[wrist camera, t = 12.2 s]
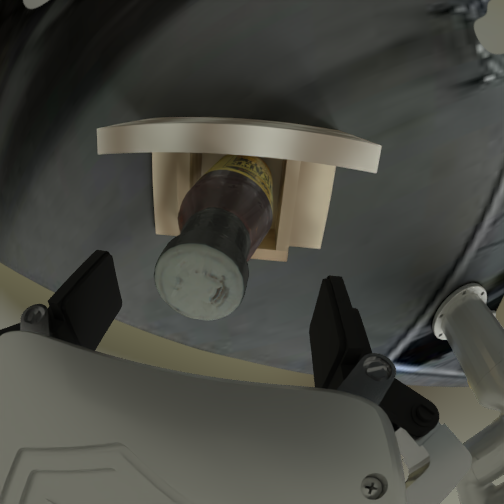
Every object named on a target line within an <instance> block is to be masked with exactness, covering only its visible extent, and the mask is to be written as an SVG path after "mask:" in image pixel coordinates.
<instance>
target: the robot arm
mask: <svg viewBox="0 0 504 504" xmlns="http://www.w3.org/2000/svg"><path fill="white" fill-rule="evenodd" d="M486 301H487V294H486V291H485V289H484V288H483V287H482V286H481V285H480V284H477V283H471V284H467V285H464V286H462V287H460V288H458V289H457V290H456V291H454V292H453V293H452V294H451V295H449V296H448V297H447V298H446V300H445V301H444V302H443V303H442V304H441V306H440V307H439V308H438V310H437V312H436V314H435V316H434V319H433V323H432V329H433V332H434V334H435V336H436V337H437V338H439V339H442V340H448V342H449V344H450V346H451V348H452V350H453V351H454V353H455V355H456V357H457V359H458V361H459V363H460V365H461V367H462V369H463V371H464V373H465V375H466V377H467V380H468V382H469V384H470V386H471V388H472V391H473V393H474V395H475V397H476V399H477V401H478V402H479V404H480V405H482V406H483V407H485V408H488V409H493V410H498V411H500V413H501V414H500V416H499V417H498V418H497V419H495V420H494V421H493V422H492V423H491V424H490V425H488V426H487V427H486V428H484V429H483V430H482V431H480V432H479V433H477V434H476V435H475V436H473V437H471V438H470V439H468V440H467V441H466V442H464V443H463V444H462V443H461V442H460V441H459V439H458V438H457V437H456V436H455V435H454V433H453V432H452V431H451V430H450V429H449V428H448V427H447V426H446V425H445V423H444V424H443V425H441V424H440V423H439V412H438V409H437V408H436V406H435V405H434V404H433V403H432V402H430V401H429V400H428V399H426V398H424V397H423V396H421V395H420V394H418V393H417V392H415V391H414V390H412V389H411V388H409V387H408V386H406V385H405V384H403V383H401V382H400V381H398V380H397V379H395V375H396V368H395V366H394V364H393V362H392V361H391V360H390V359H389V358H387V357H386V356H384V355H381V354H377V353H372V351H371V348H370V344H369V341H368V338H367V335H366V332H365V329H364V326H363V322H362V319H361V317H360V314H359V311H358V309H356V308H352V305H351V302H350V299H349V296H348V293H347V290H346V287H345V284H344V281H343V279H342V277H339V276H328V277H327V279H323V280H322V284H321V288H320V292H319V295H318V299H317V303H316V306H315V310H314V313H313V317H312V320H311V324H310V329H309V334H310V343H311V352H312V362H313V372H314V382H315V387H304V386H303V387H302V386H290V385H277V384H266V383H255V382H247V381H238V380H230V379H223V378H216V377H209V376H203V375H197V374H191V373H185V372H179V371H175V370H170V369H165V368H160V367H155V366H151V365H147V364H142V363H138V362H134V361H130V360H126V359H122V358H118V357H115V356H111V355H107V354H104V353H101V352H97V351H95V350H96V348H97V346H98V345H99V343H100V341H101V339H102V338H103V336H104V334H105V333H106V331H107V330H108V328H109V326H110V325H111V323H112V321H113V320H114V318H115V317H116V315H117V314H118V312H119V311H120V309H121V307H122V299H121V295H120V291H119V286H118V282H117V277H116V272H115V268H114V262H113V258H112V255H110V254H109V252H108V251H102V250H96V251H95V252H94V253H93V254H92V255H91V256H90V257H89V258H88V259H87V260H86V261H85V262H84V263H83V264H82V265H81V266H80V267H79V268H78V269H77V270H76V271H75V272H74V273H73V274H72V275H71V276H70V277H69V278H68V279H67V280H66V282H65V283H64V284H63V285H62V286H61V287H60V288H59V289H58V290H57V291H56V292H55V294H54V295H53V296H52V297H51V298H50V299H49V300H48V303H49V308H48V309H47V307H46V306H45V305H43V304H35V305H32V306H30V307H29V308H27V309H26V310H25V311H24V312H23V314H22V316H21V323H18V324H16V325H13V326H10V327H7V328H4V329H2V330H0V504H440V503H441V502H442V501H443V500H444V499H445V498H446V497H447V496H448V494H449V493H450V492H451V491H452V490H453V489H454V488H455V487H456V488H457V492H458V496H459V501H460V504H504V482H503V483H501V484H500V485H497V486H495V485H494V484H493V483H492V481H494V480H496V479H497V478H499V477H501V476H502V475H504V329H503V327H502V326H501V325H500V323H499V321H498V320H497V319H496V317H495V316H496V312H495V311H491V310H490V309H489V308H488V306H487V305H486ZM400 453H401V454H400ZM401 455H402V456H403V457H404V459H402V460H403V461H404V463H405V464H406V465H407V467H408V469H409V476H408V479H407V481H406V482H405V478H404V472H403V466H402V460H401Z"/></svg>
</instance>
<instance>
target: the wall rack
mask: <svg viewBox="0 0 504 504" xmlns="http://www.w3.org/2000/svg"><path fill="white" fill-rule="evenodd" d="M97 147H98V154H114V153H142V152H152V172H153V197H154V213H155V227H156V234H161V235H173V236H178V235H180V230H179V225H178V219H177V218H178V213H179V210H180V206H181V203H182V201H183V199H184V197H185V195H186V194H187V192H188V191H189V190H190V189H191V188H192V187H193V186H194V184H195V183H196V182H197V180H198V179H199V178H200V177H201V176H202V175H204V174H205V173H206V172H207V171H208V170H209V169H210V168H211V167H212V166H213V165H214V164H215V163H217V162H218V161H219V160H220V159H221V158H222V157H224V156H225V155H227V154H232V155H246V156H258V157H260V158H262V159H263V160H264V161H265V163H266V164H267V165H268V167H269V169H270V171H271V174H272V180H273V221H272V225H271V228H270V230H269V231H268V233H267V234H266V236H265V237H264V239H263V240H262V242H261V243H260V245H259V246H258V248H257V249H256V251H255V252H254V254H253V255H252V257H251V259H262V260H273V261H284V262H287V257H288V247H289V246H295V247H305V248H316V249H320V248H321V243H322V238H323V234H324V229H325V224H326V219H327V214H328V209H329V203H330V198H331V192H332V187H333V181H334V175H335V169H336V166H338V167H344V168H350V169H356V170H361V171H366V172H371V173H376V174H377V169H378V163H379V158H380V152H381V145H378V144H375V143H373V142H370V141H368V140H365V139H362V138H359V137H357V136H354V135H351V134H348V133H345V132H342V131H339V130H333V129H328V128H322V127H315V126H309V125H302V124H294V123H286V122H277V121H267V120H255V119H241V118H221V117H164V118H151V119H144V120H138V121H132V122H127V123H121V124H116V125H111V126H106V127H102V128H97Z"/></svg>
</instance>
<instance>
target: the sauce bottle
mask: <svg viewBox="0 0 504 504" xmlns="http://www.w3.org/2000/svg"><path fill="white" fill-rule="evenodd" d="M177 219H178V225H179V230H180V235H178V236H177V237H175V238H173V239H172V240H171V241H170V242H169V243H168V244H167V246H166V247H165V249H164V250H163V252H162V253H161V255H160V257H159V259H158V261H157V263H156V266H155V272H154V279H155V285H156V287H157V290H158V292H159V294H160V296H161V297H162V299H163V300H164V301H165V302H166V303H168V304H169V305H170V306H171V307H172V308H173V309H174V310H175V311H177V312H178V313H180V314H182V315H184V316H186V317H189V318H195V319H200V320H215V319H219V318H222V317H225V316H227V315H229V314H230V313H232V312H233V311H234V310H236V309H237V308H238V306H239V305H240V304H241V302H242V299H243V297H244V295H245V290H246V287H247V282H248V278H249V270H248V264H247V261H249V260H250V258H251V257H252V255H253V254H254V252H255V251H256V249H257V248H258V246H259V245H260V243H261V242H262V240H263V239H264V237H265V236H266V234H267V233H268V231H269V230H270V228H271V225H272V221H273V180H272V174H271V171H270V169H269V167H268V165H267V164H266V163H265V161H264V160H263V159H262V158H260V157H258V156H246V155H232V154H227V155H225V156H224V157H222V158H221V159H220V160H219V161H218V162H217V163H215V164H214V165H213V166H212V167H211V168H210V169H209V170H208V171H207V172H206V173H205V174H204V175H202V176H201V177H200V178H199V179H198V180H197V182H196V183H195V184H194V186H193V187H192V188H191V189H190V190H189V191H188V192H187V194H186V195H185V197H184V199H183V201H182V203H181V206H180V210H179V213H178V218H177Z"/></svg>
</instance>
